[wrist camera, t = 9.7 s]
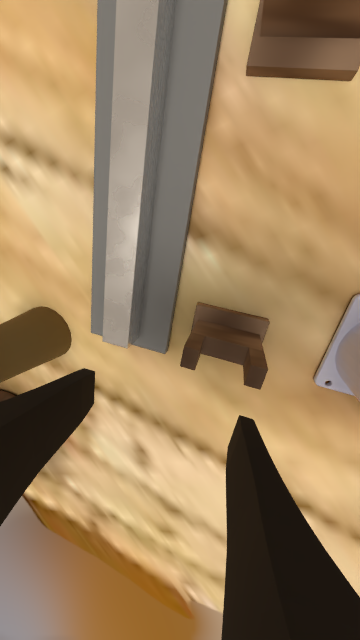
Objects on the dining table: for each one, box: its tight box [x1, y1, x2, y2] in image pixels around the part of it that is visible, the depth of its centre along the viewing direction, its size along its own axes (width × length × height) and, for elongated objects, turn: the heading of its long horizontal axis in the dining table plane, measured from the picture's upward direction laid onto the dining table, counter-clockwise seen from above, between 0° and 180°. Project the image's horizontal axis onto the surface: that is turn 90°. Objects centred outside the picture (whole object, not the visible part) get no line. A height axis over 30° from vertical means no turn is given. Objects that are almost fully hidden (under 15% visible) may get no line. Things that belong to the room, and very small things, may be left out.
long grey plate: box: [91, 0, 227, 354], centre depth 17 cm, size 8×26×1 cm, turn 171°
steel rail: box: [103, 0, 176, 348], centre depth 16 cm, size 2×24×2 cm, turn 171°
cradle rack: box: [180, 0, 360, 389], centre depth 13 cm, size 6×23×6 cm, turn 171°
